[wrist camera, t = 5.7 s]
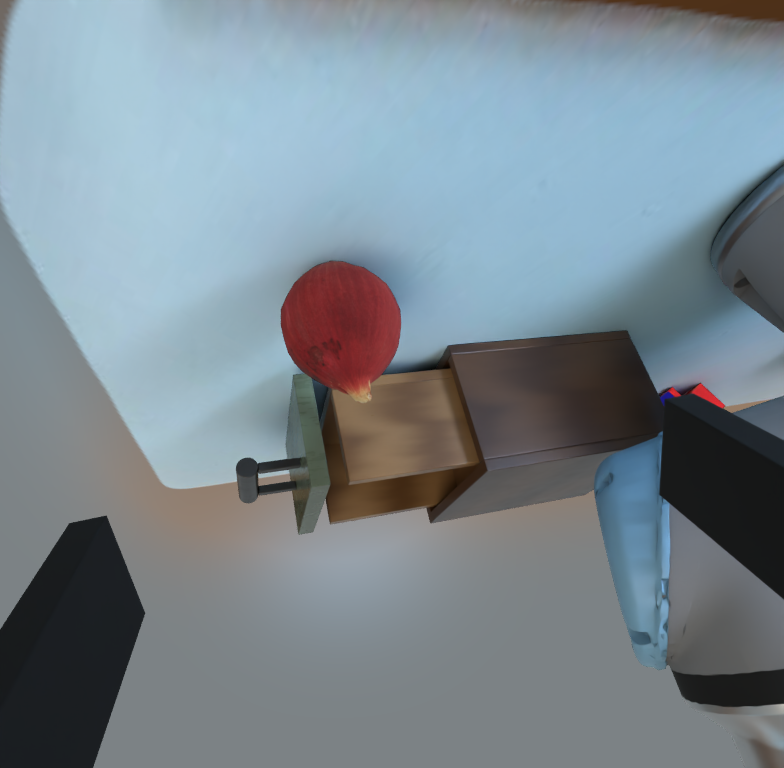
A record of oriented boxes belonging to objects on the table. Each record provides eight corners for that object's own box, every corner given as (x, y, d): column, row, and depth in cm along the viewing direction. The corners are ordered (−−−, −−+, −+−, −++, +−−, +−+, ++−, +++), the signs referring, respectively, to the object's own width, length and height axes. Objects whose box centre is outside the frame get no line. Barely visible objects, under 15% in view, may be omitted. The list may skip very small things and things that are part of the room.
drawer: (234, 450, 45) (244, 544, 42) (226, 380, 34) (238, 498, 31) (441, 424, 50) (464, 505, 47) (490, 356, 40) (524, 454, 36)
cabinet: (404, 422, 50) (430, 523, 46) (448, 344, 39) (487, 471, 35) (549, 404, 55) (584, 495, 51) (627, 330, 43) (680, 440, 39)
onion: (280, 306, 30) (301, 437, 27) (263, 234, 25) (286, 385, 22) (381, 290, 31) (414, 415, 28) (385, 218, 26) (426, 361, 22)
